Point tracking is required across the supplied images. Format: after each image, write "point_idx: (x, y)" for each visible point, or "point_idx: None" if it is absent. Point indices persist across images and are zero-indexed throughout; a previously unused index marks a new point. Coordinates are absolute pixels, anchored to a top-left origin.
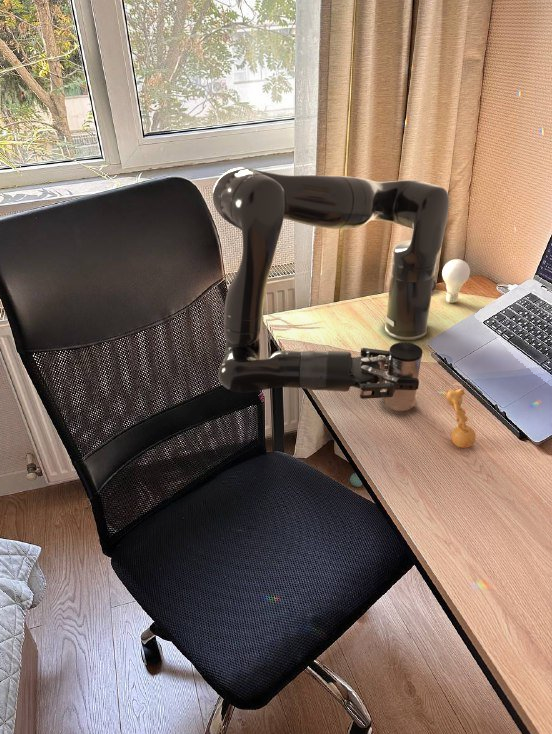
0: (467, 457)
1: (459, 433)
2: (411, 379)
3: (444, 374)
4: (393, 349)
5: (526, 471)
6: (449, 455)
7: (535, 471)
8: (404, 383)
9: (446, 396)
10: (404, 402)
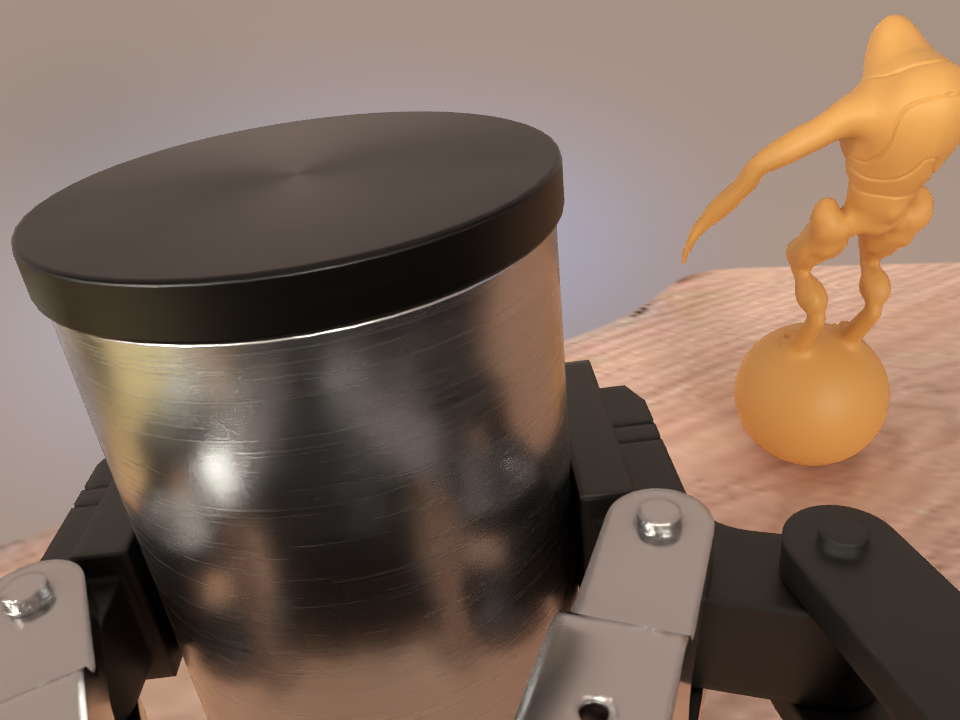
0: (901, 429)
1: (868, 362)
2: (591, 394)
3: (33, 553)
4: (240, 249)
5: (853, 294)
6: (947, 492)
7: (833, 280)
8: (665, 460)
9: (951, 116)
10: None
